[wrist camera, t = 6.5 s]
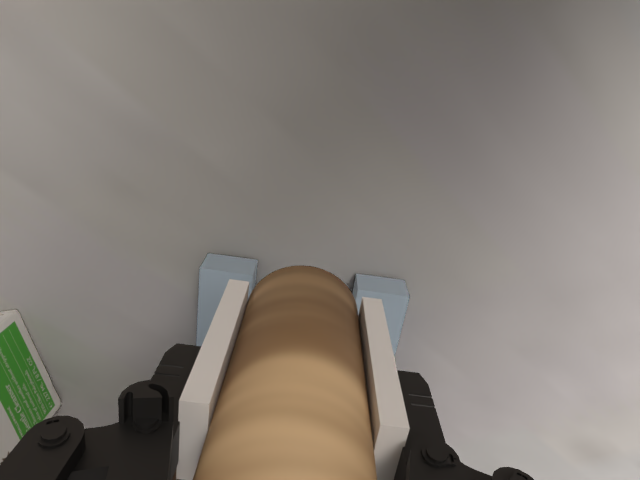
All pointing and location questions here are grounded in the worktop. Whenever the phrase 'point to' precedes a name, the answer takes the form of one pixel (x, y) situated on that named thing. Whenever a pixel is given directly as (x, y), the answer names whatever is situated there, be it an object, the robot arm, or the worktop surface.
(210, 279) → the fork block
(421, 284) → the worktop surface
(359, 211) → the worktop surface
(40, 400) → the skincare box
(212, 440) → the dowel
